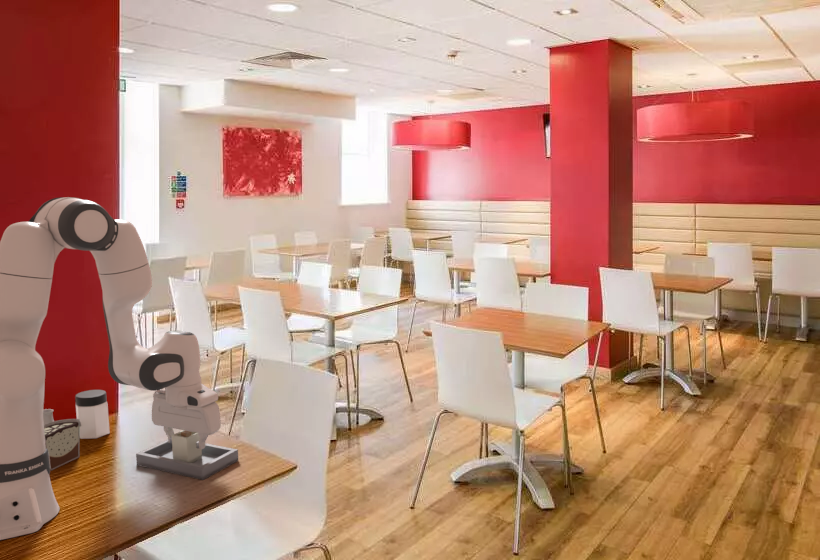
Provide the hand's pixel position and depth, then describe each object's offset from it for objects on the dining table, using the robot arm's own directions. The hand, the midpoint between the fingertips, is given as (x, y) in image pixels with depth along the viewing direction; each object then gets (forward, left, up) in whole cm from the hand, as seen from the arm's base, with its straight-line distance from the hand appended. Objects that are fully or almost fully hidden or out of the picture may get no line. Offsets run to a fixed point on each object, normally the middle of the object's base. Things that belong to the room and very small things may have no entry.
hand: (186, 445), depth 178 cm
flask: (-23, +38, -5) cm, 45 cm away
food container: (-25, +24, -5) cm, 35 cm away
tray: (0, 0, -5) cm, 5 cm away
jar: (-11, +39, -5) cm, 41 cm away
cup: (0, 0, -4) cm, 4 cm away
